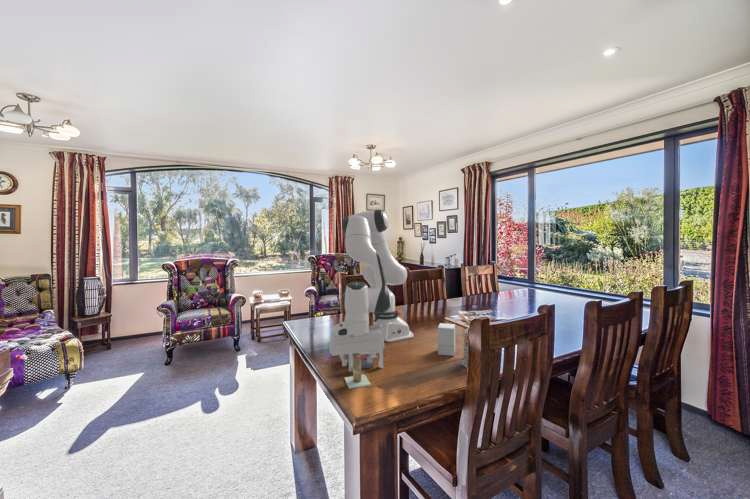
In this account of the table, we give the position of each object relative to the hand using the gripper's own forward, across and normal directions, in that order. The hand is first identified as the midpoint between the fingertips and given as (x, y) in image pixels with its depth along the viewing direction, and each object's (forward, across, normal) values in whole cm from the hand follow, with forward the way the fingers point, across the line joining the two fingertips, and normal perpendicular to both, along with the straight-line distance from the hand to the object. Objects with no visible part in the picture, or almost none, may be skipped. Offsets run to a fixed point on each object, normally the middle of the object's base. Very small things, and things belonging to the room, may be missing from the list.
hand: (357, 363), depth 117 cm
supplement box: (+7, -46, -16) cm, 49 cm away
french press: (+7, -50, -2) cm, 51 cm away
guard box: (+7, -6, -15) cm, 18 cm away
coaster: (+7, 0, 0) cm, 7 cm away
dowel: (+6, 0, 0) cm, 6 cm away
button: (+6, -6, -14) cm, 16 cm away
